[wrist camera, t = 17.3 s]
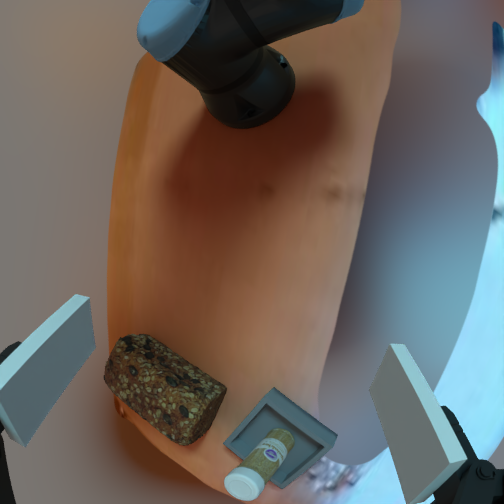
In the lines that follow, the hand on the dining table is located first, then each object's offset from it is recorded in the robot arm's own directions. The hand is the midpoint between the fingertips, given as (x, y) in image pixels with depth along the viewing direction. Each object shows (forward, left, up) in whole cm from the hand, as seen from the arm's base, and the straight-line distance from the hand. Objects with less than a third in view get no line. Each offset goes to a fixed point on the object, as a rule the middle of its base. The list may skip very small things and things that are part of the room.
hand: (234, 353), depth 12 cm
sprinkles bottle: (+6, -22, -28) cm, 37 cm away
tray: (+6, -22, -29) cm, 37 cm away
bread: (-13, -28, -29) cm, 43 cm away
